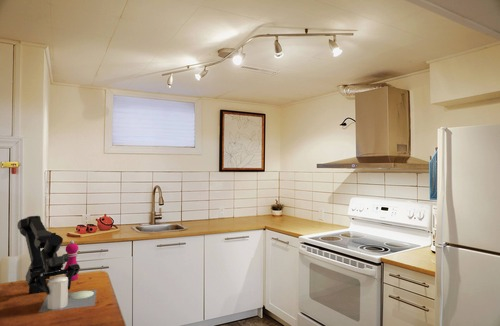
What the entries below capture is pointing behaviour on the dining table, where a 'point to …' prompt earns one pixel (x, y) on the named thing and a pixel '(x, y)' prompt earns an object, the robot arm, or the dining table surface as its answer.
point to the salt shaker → (58, 292)
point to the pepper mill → (72, 256)
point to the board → (75, 300)
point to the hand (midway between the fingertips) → (59, 291)
